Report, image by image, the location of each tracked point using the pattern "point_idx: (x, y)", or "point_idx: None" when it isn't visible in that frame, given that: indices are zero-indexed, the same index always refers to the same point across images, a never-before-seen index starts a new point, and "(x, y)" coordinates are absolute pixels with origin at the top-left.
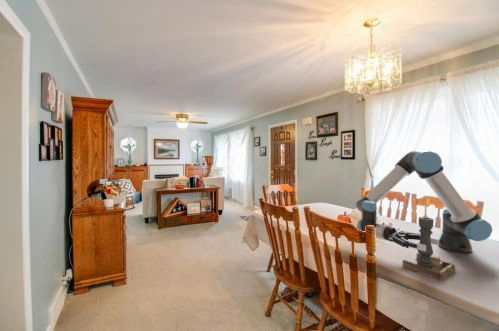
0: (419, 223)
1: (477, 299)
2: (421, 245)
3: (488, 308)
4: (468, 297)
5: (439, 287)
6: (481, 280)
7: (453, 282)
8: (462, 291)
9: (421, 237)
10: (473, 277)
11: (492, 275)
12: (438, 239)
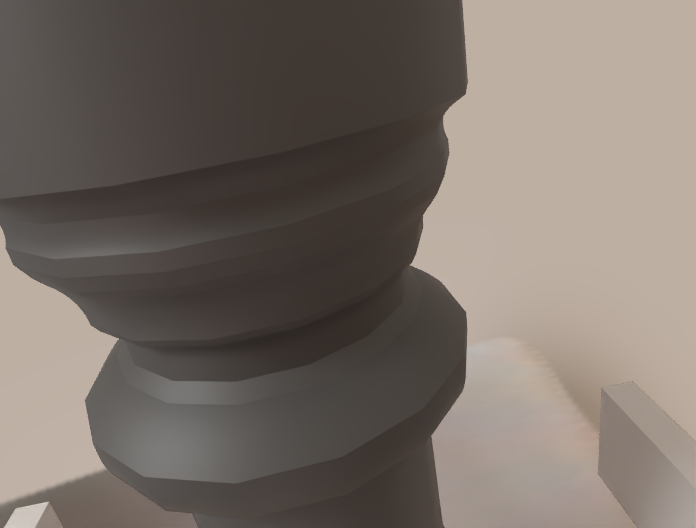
0: (432, 22)
1: (490, 382)
2: (676, 442)
3: (520, 341)
4: (521, 399)
5: (620, 512)
6: None
7: None
8: (488, 439)
9: (432, 526)
10: (184, 518)
11: (49, 494)
12: (21, 509)
